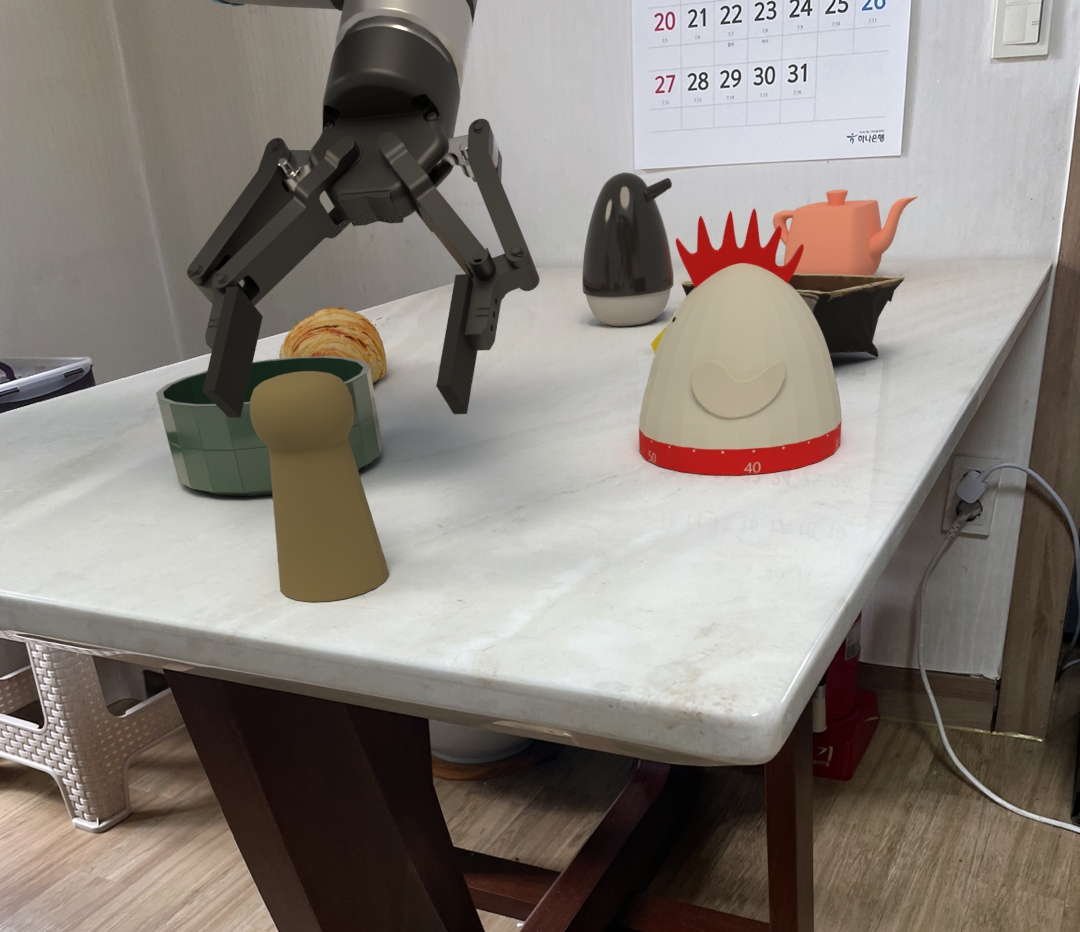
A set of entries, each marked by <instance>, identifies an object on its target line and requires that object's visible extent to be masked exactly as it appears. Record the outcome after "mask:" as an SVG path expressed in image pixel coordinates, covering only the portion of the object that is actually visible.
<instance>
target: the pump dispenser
mask: <svg viewBox="0 0 1080 932" xmlns="http://www.w3.org/2000/svg"><path fill="white" fill-rule="evenodd" d="M672 186H673V183H672V180H671V179H670V178H669V177H666V178H664V179H661V180H659V181H657V182H655V183H652V184H650V185H648V184H647V183H646V181H644V179H643V178H642V177H641V176H639V175H637V174H635V173H632V172H627V171H625V172H619V173H617V174H614V175H613V176H611V177H610V178H608V179H607V181H605V182H604V184H603V186H602V187H601V189H600V191H599V193H598V195H597V198H596V200H595V204H594V205H593V210H592V213H591V217H590V221H589V224H588V228H587V233H586V238H585V245H584V252H583V260H582V276H581V277H582V278H581V280H582V284H581V286H582V293H583V295H585V296H586V301H587V305H588V307H589V308H590V311H591V312H592V314H593V315H594V317H595V318H596V319H597V320H598V321H600V322H601V323H604V324H605V325H607V326H610V327H634V326H641V325H645V324H648V323H651V322H652V321H655V319H657V318H658V317H659V316H660V315H661V314H662V313H663V312H664V310H665V308H666V307H667V305H668V302H669V300H670V296H671V289H672V288H673V287H674V267H673V261H672V259H673V258H672V254H671V246H670V241H669V238H668V233H667V229H666V226H665V223H664V220H663V217H662V213H661V211H660V209H659V206H658V203H657V201H656V199H657V198H658V197H660V196H661V195H662V194H664V193H666V192H667V191H668V190H670V189H671V188H672Z"/></svg>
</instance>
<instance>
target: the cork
mask: <svg viewBox="0 0 1080 932" xmlns="http://www.w3.org/2000/svg"><path fill="white" fill-rule="evenodd" d="M250 417H251V422H252V426H253V428H254V430H255V432H256V434H257V436H258V437H259V438H260V439H261V440H262V441H263V442H264V443H265V444H266V445H267V446H268V447H269V457H270V469H271V481H272V494H271V495H272V505H273V517H274V519H273V520H274V529H275V541H276V542H275V543H276V553H277V556H276V557H277V566H278V567H277V568H278V577H279V578H278V579H279V591H280V592H281V593H282V594H283V595H284V596H285V597H287V598H289V599H292V600H295V601H301V602H308V603H313V602H314V603H315V602H332V601H339V600H345V599H348V598H353V597H357V596H360V595H363V594H365V593H368V592H370V591H373V590H375V589H377V588H378V587H379V586H381V585H382V584H383V583H385V582H386V581H387V579H388V578H389V576H390V569H389V566H388V564H387V561H386V557H385V553H384V551H383V547H382V544H381V541H380V537H379V535H378V531H377V528H376V524H375V521H374V518H373V515H372V511H371V508H370V504H369V502H368V498H367V495H366V492H365V489H364V485H363V482H362V479H361V476H360V472H359V470H358V469H357V466H356V462H355V459H354V456H353V453H352V449H351V446H350V443H349V440H348V435H349V432H350V430H351V428H352V426H353V421H354V408H353V402H352V397H351V394H350V392H349V389H348V387H347V386H346V384H345V383H344V382H343V381H342V380H341V378H339V377H337V376H335V375H333V374H330V373H325V372H316V371H302V372H292V373H287V374H283V375H279V376H276V377H273V378H271V379H268V380H265V381H263V382H262V383H260V384H259V385H258V386H257V387H255V388H254V390H253V393H252V396H251V399H250Z"/></svg>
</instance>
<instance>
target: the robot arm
mask: <svg viewBox="0 0 1080 932" xmlns="http://www.w3.org/2000/svg"><path fill="white" fill-rule="evenodd" d="M210 1H211V2H214V3H215V4H221V5H222V4H223V5H230V6H232V7H244V6H245V5H252V6H264V7H278V8H279V7H280V8H297V9H298V8H301V9H320V10H322V9H323V10H325V9H326V10H338V11H339V12H341V13H340V17H339V18H340V19H339V23H338V28H337V32H336V36H335V43H334V52H333V54H332V58H331V62H330V67H329V71H328V76H327V80H326V85H325V90H324V93H323V94H324V95H323V97H322V98H323V99H322V129H321V133H320V136H319V137H318V139H317V140H316V141H315V143H314V144H313V146H312V147H311V148H310V149H306V150H305V149H290V148H289V147H288V145H287V144H286V142H285V141H284V140H283V138H281V137H274V138H272V139H271V140H269V141H268V142H267V144H266V146H265V148H264V151H263V154H262V157H261V159H260V163H259V165H258V169H257V171H256V173H255V174H254V175H253V177H252V178H251V179H250V181H249V182H248V184H247V185H246V187H245V188H244V189H243V190H242V192H241V193H240V194H239V196H238V197H237V199H236V200H235V202H234V203H233V204H232V206H231V207H230V209H229V210H228V212H227V213H226V214H225V216H223V218H222V219H221V221H220V223H219V224H218V225H217V227H216V228H215V230H214V231H213V232H212V234H211V235H210V237H209V238H208V239H207V241H206V242H205V243H204V245H203V246H202V247H201V249H200V251H199V252H198V253H197V255H196V256H195V257H194V259H193V260H192V262H191V263H190V264H189V266H188V267H187V270H186V275H187V277H188V279H189V280H190V281H191V282H192V283H193V284H194V286H196V288H197V289H198V290H199V291H200V292H201V294H202V295H203V296H204V297H205V298H206V299H207V300H208V302H209V303H210V304H211V309H210V314H209V318H208V322H207V327H206V330H205V334H204V336H205V337H204V338H205V344H206V345H207V347H208V348H209V349H210V350H211V353H210V358H209V361H208V366H207V370H206V371H207V374H206V379H205V383H204V387H203V392H204V393H205V394H206V395H207V396H208V397H209V398H210V399H211V400H212V401H213V402H214V403H215V404H216V405H217V406H218V407H219V408H220V409H221V410H222V411H223V412H224V413H225V414H226V415H227V416H228V417H229V418H236V417H241V413H242V409H243V404H244V400H245V395H246V391H247V386H248V381H249V377H250V372H251V368H252V363H253V362H254V359H255V354H256V350H257V345H258V340H259V335H260V331H261V326H262V321H263V318H264V316H263V314H262V313H261V311H259V310H258V308H256V305H257V304H258V303H260V302H261V300H262V299H264V298H265V297H266V295H268V294H269V293H270V292H271V291H272V290H273V289H274V288H275V287H276V286H277V285H278V284H280V283H281V281H282V280H283V279H285V278H286V276H288V274H289V273H290V272H292V271H293V270H294V269H295V268H296V267H297V266H298V265H299V264H300V263H301V262H302V261H303V260H304V259H305V258H307V256H308V255H309V254H310V253H311V252H312V251H314V249H315V248H316V247H318V246H319V244H320V243H322V242H323V241H324V240H325V239H331V240H332V239H335V238H337V237H338V236H339V235H340V234H341V233H342V232H343V231H344V230H345V229H346V228H347V227H349V225H350V224H351V225H352V226H353V227H359V226H367V225H371V224H374V223H378V222H382V223H386V224H403V223H404V219H405V218H408V217H409V216H411V215H412V214H414V213H416V214H417V216H418V217H419V218H420V219H421V221H422V222H423V223H424V224H425V226H426V227H427V229H428V230H429V231H430V232H431V233H433V234H434V235H435V236H436V238H437V239H438V241H439V242H440V243H441V244H442V246H443V247H444V248H445V249H446V250H447V252H448V253H449V254H450V256H451V257H452V258H453V259H454V260H455V262H456V263H457V264H458V266H459V267H460V269H461V270H462V271H463V272H464V273H462V274H461V273H460V274H455V276H454V283H453V287H452V293H451V298H450V305H449V310H448V311H449V312H448V317H447V322H446V328H445V334H444V340H443V344H442V350H441V351H442V352H441V357H440V362H439V367H438V374H437V380H436V384H435V387H436V389H437V390H438V391H439V393H440V395H441V396H442V398H443V400H444V401H445V403H446V405H447V406H448V407H449V409H450V411H451V413H452V414H453V415H468V411H469V405H470V399H471V393H472V386H473V382H474V381H473V380H474V375H475V368H476V363H477V356H478V351H490V350H491V349H492V348H493V346H494V344H495V342H496V337H497V330H498V324H499V317H500V313H501V305H502V301H503V299H504V298H505V297H506V295H507V294H509V293H510V292H512V291H514V290H517V289H520V290H522V291H523V292H531V291H533V290H535V289H536V288H537V287H538V286H539V284H540V280H541V279H540V276H539V273H538V270H537V268H536V265H535V263H534V260H533V257H532V254H531V252H530V249H529V247H528V244H527V242H526V240H525V237H524V234H523V232H522V230H521V227H520V225H519V222H518V220H517V218H516V215H515V212H514V210H513V208H512V205H511V203H510V200H509V198H508V196H507V192H506V191H505V188H504V186H503V182H502V177H503V175H502V173H503V172H502V171H503V157H502V153H501V151H500V148H499V146H498V143H497V140H496V137H495V135H494V133H493V130H492V127H491V124H490V122H489V121H488V120H487V119H485V118H477V119H475V120H473V121H472V122H471V123H470V125H469V126H468V131H467V134H464V135H459V136H454V135H455V131H456V125H457V121H458V114H459V109H460V104H461V90H462V87H463V84H464V78H465V74H466V67H467V61H468V55H469V51H470V46H471V45H470V44H471V39H472V33H473V32H472V31H473V26H474V22H475V21H474V20H475V14H476V10H477V4H478V0H210ZM454 166H458V167H460V168H461V170H462V172H463V175H464V176H465V177H467V178H471V179H472V181H473V182H474V183H476V185H477V188H478V190H479V192H480V194H481V197H482V200H483V202H484V204H485V207H486V210H487V212H488V215H489V217H490V220H491V223H492V225H493V227H494V230H495V232H496V235H497V237H498V240H499V242H500V245H501V247H502V250H503V253H502V254H499V255H497V256H494V257H492V254H491V252H490V250H489V248H488V247H486V248H485V247H484V246H483V244H482V243H481V242H480V241H479V240H478V239H477V237H476V236H475V235H474V233H473V232H472V231H471V230H470V228H469V227H468V226H467V224H466V223H465V222H464V221H463V219H462V218H461V217H460V216H459V215H458V214H457V212H456V211H455V210H454V209H453V207H452V206H451V205H450V203H449V202H448V201H447V200H446V199H445V197H444V196H443V195H442V193H441V192H440V190H438V189H437V188H438V187H440V185H441V184H442V183H443V182H444V181H445V180H446V178H448V176H449V175H451V173H452V171H453V169H454ZM323 192H325V194H326V195H327V197H328V199H329V200H330V202H331V204H332V206H333V208H332V209H331V210H330V211H327V210H326V208H325V207H324V205H323V203H322V201H321V200H320V198H321V195H322V193H323ZM241 281H243V286H242V285H241V284H240V282H241Z"/></svg>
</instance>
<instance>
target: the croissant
mask: <svg viewBox="0 0 1080 932" xmlns="http://www.w3.org/2000/svg"><path fill="white" fill-rule="evenodd" d="M317 356H329V357H346V358H351V359H356V360H360V361H364V362H365V363H366V364H367V365H369V366H370V369H371V375H372V382H373V383H375V382H378V380H379V379H383V378H384V376H386V374H387V372H388V371H387V369H388V366H387V358H386V351H385V346H384V342H383V339H382V338H381V335H380V332H379V330H378V329H377V328H376V327H375V325H374V324H373V323H372V322H371V321H370V320H369V318H367V317H365V316H364V315H362V314H361V313H359V312H356V311H352V310H349V309H346V308H345V307H338V306H336V307H335V306H334V307H332V306H331V307H326V308H323V309H319V310H317V311H315V312H314V314H311V315H309V316H307V317H305V318H304V319H302V320H300V321H299V322H297V323H295V325H294V326H293V327H292V328H291V329H290V331H288V333H287V335H286V336H285V338H284V340H283V343H282V344H281V346H280V349H279V358H278V359H282V358H293V357H317Z"/></svg>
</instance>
